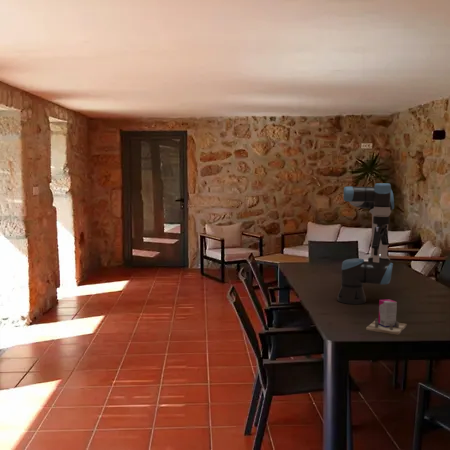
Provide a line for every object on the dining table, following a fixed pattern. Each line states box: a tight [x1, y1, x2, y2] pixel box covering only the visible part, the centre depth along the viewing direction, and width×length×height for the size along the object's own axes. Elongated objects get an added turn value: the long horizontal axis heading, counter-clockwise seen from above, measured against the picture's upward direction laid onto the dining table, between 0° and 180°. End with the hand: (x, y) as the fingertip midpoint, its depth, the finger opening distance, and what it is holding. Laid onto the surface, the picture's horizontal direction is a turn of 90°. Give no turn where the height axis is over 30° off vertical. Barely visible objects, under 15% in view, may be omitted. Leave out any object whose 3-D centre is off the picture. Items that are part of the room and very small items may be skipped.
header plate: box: [365, 318, 408, 336], centre depth 243 cm, size 16×14×4 cm
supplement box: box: [377, 298, 398, 327], centre depth 243 cm, size 6×6×12 cm
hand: (379, 260), depth 257 cm, fingers open, 13 cm apart
